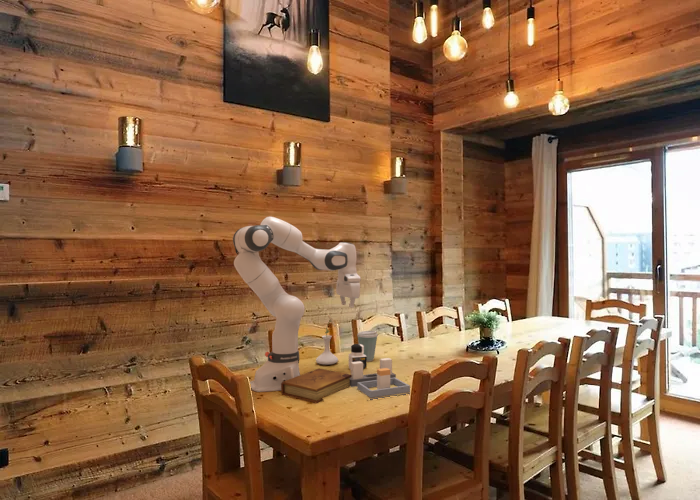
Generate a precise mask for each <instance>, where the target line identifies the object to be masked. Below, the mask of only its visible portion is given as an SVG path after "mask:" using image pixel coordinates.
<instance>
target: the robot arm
mask: <svg viewBox="0 0 700 500" xmlns="http://www.w3.org/2000/svg"><path fill="white" fill-rule="evenodd" d="M303 238H304V237H303V234H302V231H301V230H299V229H298V228H297V227H296V226H294V225H292V224H291V223H289V222H287V221H285V220H282V219H281V218H277V217H274V216H266V217H265V218H264V219H263V220H262V221H261V222H260V224H257V225H256V224H255V225H247V226H246V225H245V226H244V227H240V228H239V229H237V230H236V231H235V232H234V234H233V237H232V244H233V246H234V249H235V254H236V257H235V258H234V260H233V266H234V268H235V270H236V271H237V273H238V274H239V276H240V277H241V279H242V280H243V281H244V283H245V284H247V286H249V288H250V289H251V291H253V292H254V294H255V295H256V296H257V297H258V298H259V300H260V301H261V303H262V304H263V306H264V307H265V308H266V309H267V311H268V313H269V314H270V315H271V316H273V317H275V318H276V319H275V325H274V330H273V332H272V333H271V334H272V336H271V338H272V339H271V342H272V343H271V344H272V346H271V347H272V349H271V350H272V351H271V352H269V351H265V353H264V356H265V357H266V358H267V361H266V362H264V363H263V365H261V366H260V367H259V368H258V369H256V371H255V373H254V379H253V380H251V381H250V382H249V383H250V384H251V388H252V389H251V388H250V389H251V390H252V391H254V392H256V393H259V392H260V393H262V392H274V391H275V392H276V391H277V392H278V391H281V383H282V382H283V381H286V380H289V379H292V378H294V377H297V376H300V375H301V374H300V373H301V372H300V367H299V366H300V365H299V363H300V351H299V330H300V324H301V320H302V318H303V316H304V314H305V309H306V308H305V304H304V303H303V301H302V300H301V299H300V298H299V297H297V296H295V295H292V294H289V293H287V292H286V291H285V289H284V288H283V287H282V285H281V283H280V281H279V278H278V277H276V275H275V274H274V273H273V271H272V270H271V269H270V268H269V266H267V264H266V263H265V262H263V261H262V258H261V257H260V253H259V252H262V251H264V250H266V249H267V248H268V246H270V244H273V245H274V246H277V247H279V248H281V249H283V250H285V251H289V252H293V253H295V254H297V255H299V256H300V257H302V258H303V259H306V260H307V261H308V262H309V263H310V264H311V265H312V267H313V269H316V270H318V271H330V272H331V271H337V280H336V287H335V292H336V295H338V296H339V299H340V301H341V302H340V303H341V305H342V306H346V305H347V301H346V298H349V303H348V307H349V308H352V309H353V308H354V307H355V302H356V299H359V298H360V296H361V283H360V282H361V280H362V278H361V276H360V275H359V274H358V273H357V271H358V270H357V265H356V264H357V249H356V246H355V244H354V243H352V242H345V241H340V242H339V243H338V244H337V245H336V246H334V247H332V248H330V249H325V248H315V247H313V246H311V245H310V244H308V243H306V242H305V241H304V240H303Z"/></svg>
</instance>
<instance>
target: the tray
mask: <svg viewBox="0 0 700 500" xmlns="http://www.w3.org/2000/svg"><path fill="white" fill-rule="evenodd" d="M391 385H392V386H393V385H394V386H393V387H390V388H385V389H378V390H377V389H374V390H373V389H372V390H371V388H377V380H372V381H365V382H357V386H356V389H357V390H358V391H359V392H361V393H363V394H364V395H365V396H367V397H369V399H370V400H369V401H374V400H373V399H377V400H379V399H378V398H384V397H390V396H397V395H403V396H407V395H406V394H409V395H411V385H410V384H408V383H406V382H404V381H402V380H401V379H399V378H397V377H396V378H390V386H391ZM397 397H398V396H397ZM390 398H391V397H390ZM384 399H385V398H384Z"/></svg>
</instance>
